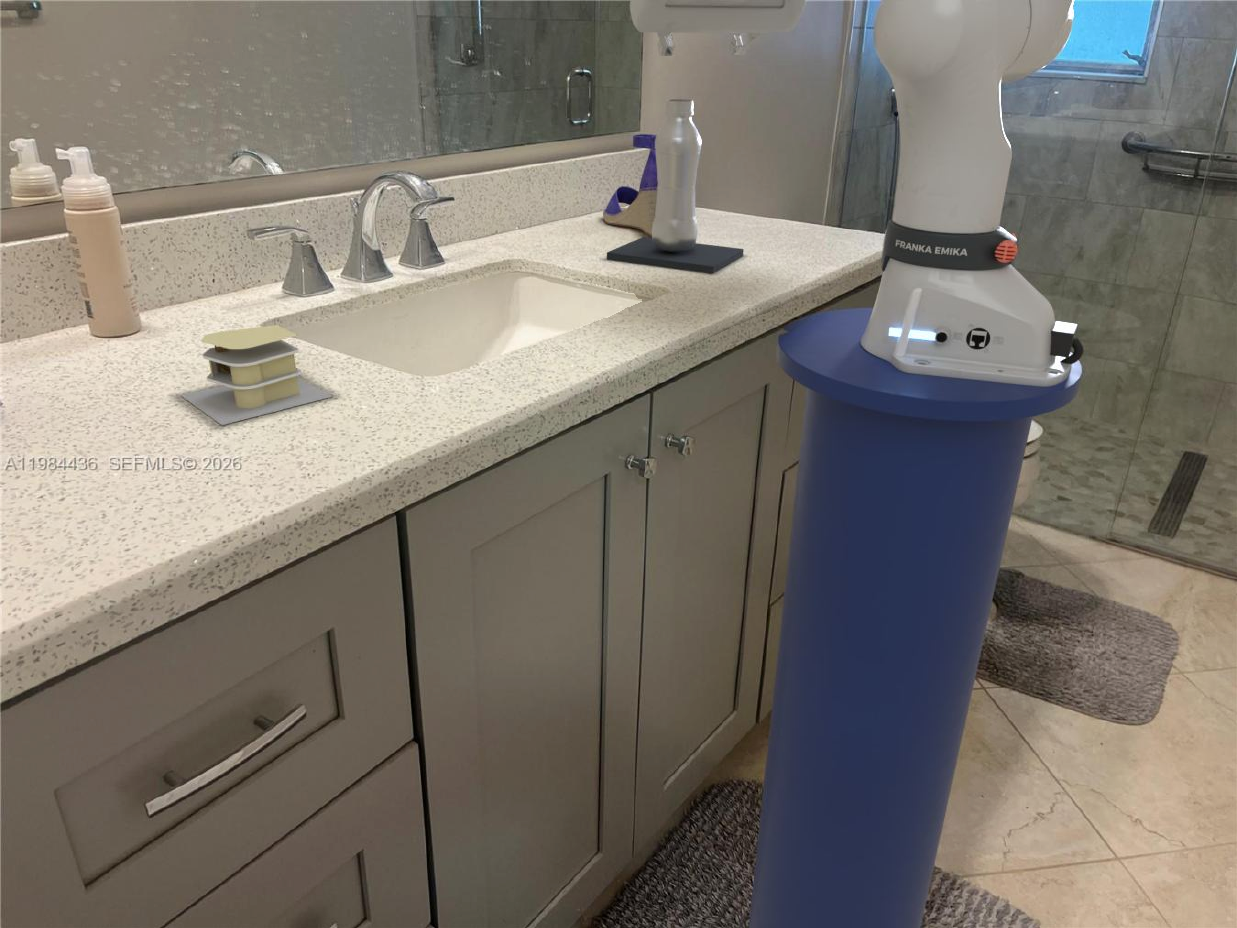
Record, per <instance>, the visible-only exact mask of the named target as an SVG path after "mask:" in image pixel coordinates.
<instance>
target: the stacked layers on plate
mask: <svg viewBox="0 0 1237 928" xmlns="http://www.w3.org/2000/svg"><path fill="white" fill-rule="evenodd" d="M296 336H298V334H296V333H294V332H292V331H290V330H288V329H286V328H284V327H283V326H280V325H278V324H275V325H267V326H266V325H265V326H257V327H249V328H241V329H231V330H223V331H217V332H212V333H207V334H205V335H204V336H203V337H202V338H201V339H200V342H201V343H205V344H209V345H212V346H214V347H210V348H208V349H207V350H206V351H205V352H204V353H203V354H202V358H203V359H205V360H207V361H208V365H209V369H210V373H209V374H208V375H207V376H206V380H207V381H208V382H211V383H213V384H217V385H219V386H215V387H211V388H210V387H209V388H207V389H201V390H197V391H193V392H189V393H185V394H181V395H180V396H181V397H182V398H183V399H185V401H188V402H189V403H191V404H192V405H193V406H195V408H197V409H199V411H201V412H203V413H204V414H205V415H207V416H208V417H210V418H212V419H213V420H214V421H215V422H217V423H218V424H220V425H221V426H225V425H228V424H233V423H236V422H239V421H243V420H247V419H253V418H256V417H259V416H263V415H267V414H270V413H271V414H272V413H275V412H278V411H282V410H286V409H290V408H294V407H298V406H302V405H306V404H309V403H314V402H317V401H321V400H326V399H328V398H332V397H334V396H333V395H331V394H329V393H327V392H326V391H324V390H323V389H320V388H319V387H318V386H315V385H313V384H312V383H310V382H309V381H307V380H304V378H301V377H299V376H301V375H303V371H302V370H301V369H299V368H297V363H296V357H295V354H298V353H300V348H298V347H296V346H294V345H292V344H290V343H289V342H287V341H285V339H289V338H293V337H296Z"/></svg>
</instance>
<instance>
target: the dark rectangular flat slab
mask: <svg viewBox="0 0 1237 928" xmlns="http://www.w3.org/2000/svg"><path fill="white" fill-rule="evenodd" d="M744 251H745V250H744V248H738V247H732V246H731V247H730V246H722V245H713V244H705V243H699V242H698V243H697V242H696V243H695V245H694V246H693V248H692V249H690V250H686V251H680V252H669V251H665V250H660V249H658V248H656V247H655V245H654V243H653V239H652V238H649V237H648V236H642V237H639V238H637V239H635V240H632V241H630V242H628V243H625V244H623V245H621V246H619V247H615V248H614V249H612V250H609V251H607V252H606V260H607V261H608V260H609V261H615V262H623V263H629V264H630V263H631V264H638V265H646V266H652V267H653V266H654V267H660V268H661V267H662V268H667V269H676V270H683V271H691V272H697V273H698V272H699V273H705V274H715V273H716V272H717V271H720V270H721V269H723V268H724V267H726V266H728V265H729V264H732V263H733V262H735V261H737V260H738V259H741V258H742V257H743V256H744Z"/></svg>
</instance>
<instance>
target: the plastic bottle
mask: <svg viewBox="0 0 1237 928" xmlns="http://www.w3.org/2000/svg"><path fill="white" fill-rule="evenodd" d="M665 108H666V110H665V111H664V112H665V113H664V114H665V115H666V120H665V122H664V123H663V124H662V126H660V129H659V130H658V132H657V134H656V135H657V136H656V139H655V149H656V151H655V152H656V163H657V182H658V185H657V189H658V192H657V202H656V211H655V217H654V221H653V226H652V239H653V243H654V245H655V247H656V248H658V249H660V250H665V251H669V252H680V251H686V250H690V249H692V248H693V246H694V245H695V243H697V239H698V234H699V233H698V221H697V217H696V215H697V214H696V189H697V188H696V183H697V177H698V176H697V175H698V168H699V162H700V157H701V150H702V144H703V143H702V138H701V135H700V133H699V130H698V128H697V127H696V125H695V123H694V122H693V119H692V116H694V115H695V111H694V100H693V99H683V98H681V99H680V98H675V99H674V98H672V99H666V106H665Z"/></svg>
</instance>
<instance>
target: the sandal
mask: <svg viewBox="0 0 1237 928" xmlns="http://www.w3.org/2000/svg"><path fill="white" fill-rule="evenodd" d="M656 136H657V134H651V133H650V134H649V133H648V134H647V133H645V134H644V133H639V134H633V135H632V147H633V148H637V149H638V148H639V149H647V150H648V149H649V153H648V157H647V160H646V163H645V166H644V169H643V172H642V175H641V177H640V183H639V190H637V189H635V188H633V187H630V186H626V185H621V186H618V187H617V188H616V190H615V191H614V193H613V194H612V196H611V198H610V200H609V202H608V204H607V205H606V206H605V208H604V210H603V211H602V218H603V222H604V223H606V224H607V225H612V226H619V227H628V228H633V229H636V230H640V231H641V232H644V235H645V237H649V238H652V226H653V221H654V217H655V211H656V202H657V192H658V189H657V185H658V182H657V163H656V152H655V151H656V149H655V139H656ZM620 204H625V205H628V207H621V206H620Z"/></svg>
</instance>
